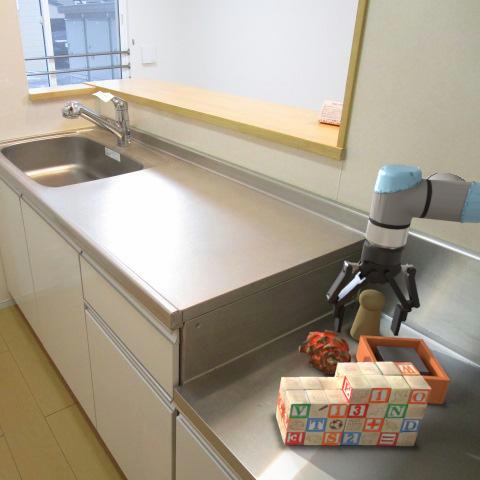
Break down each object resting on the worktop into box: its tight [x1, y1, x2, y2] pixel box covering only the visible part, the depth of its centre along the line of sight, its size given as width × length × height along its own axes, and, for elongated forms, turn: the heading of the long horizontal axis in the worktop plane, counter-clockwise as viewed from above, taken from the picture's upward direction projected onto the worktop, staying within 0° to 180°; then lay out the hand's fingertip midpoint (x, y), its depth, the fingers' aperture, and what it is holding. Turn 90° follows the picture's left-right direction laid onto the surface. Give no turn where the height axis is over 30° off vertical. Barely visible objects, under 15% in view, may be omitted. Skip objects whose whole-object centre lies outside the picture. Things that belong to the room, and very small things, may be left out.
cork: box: [349, 289, 386, 342], centre depth 98 cm, size 6×6×11 cm
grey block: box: [375, 346, 429, 376], centre depth 87 cm, size 7×7×4 cm
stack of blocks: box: [275, 361, 431, 447], centre depth 74 cm, size 21×6×12 cm, turn 90°
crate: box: [355, 335, 451, 405], centre depth 87 cm, size 12×12×6 cm
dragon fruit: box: [298, 329, 352, 375], centre depth 90 cm, size 8×8×12 cm
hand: (365, 330), depth 100 cm, fingers open, 11 cm apart
